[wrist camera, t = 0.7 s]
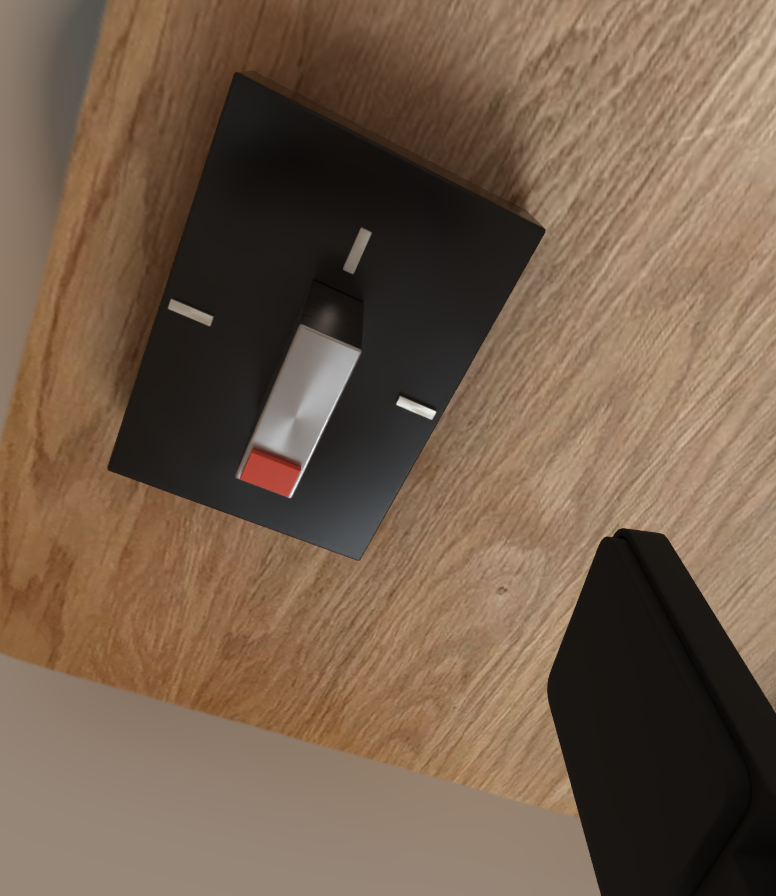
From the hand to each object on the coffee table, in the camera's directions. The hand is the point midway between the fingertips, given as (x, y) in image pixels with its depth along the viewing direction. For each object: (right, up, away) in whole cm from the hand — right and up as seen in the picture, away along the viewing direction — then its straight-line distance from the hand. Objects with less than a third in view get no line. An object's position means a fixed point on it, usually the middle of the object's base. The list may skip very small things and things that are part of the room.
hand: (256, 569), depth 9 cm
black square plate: (-1, +6, +16) cm, 17 cm away
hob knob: (-1, +5, +14) cm, 14 cm away
